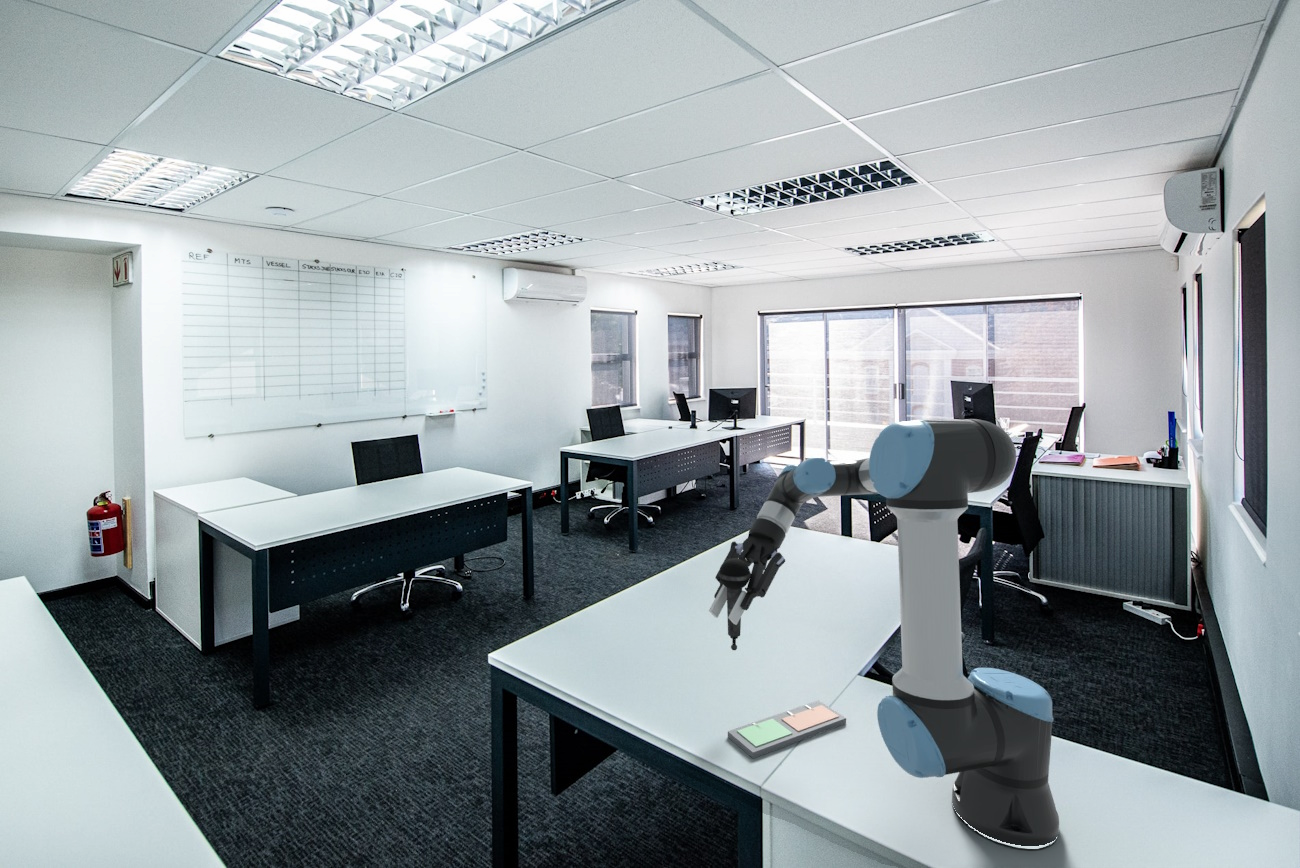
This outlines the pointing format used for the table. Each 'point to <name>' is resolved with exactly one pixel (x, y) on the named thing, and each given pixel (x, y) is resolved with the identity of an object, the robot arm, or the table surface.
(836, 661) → the table surface
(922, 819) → the table surface
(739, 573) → the microphone
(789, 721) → the board
